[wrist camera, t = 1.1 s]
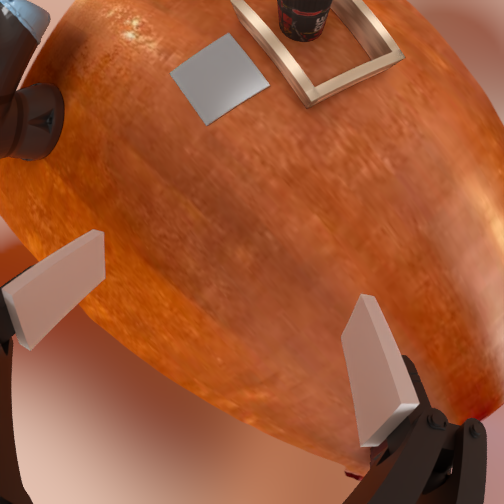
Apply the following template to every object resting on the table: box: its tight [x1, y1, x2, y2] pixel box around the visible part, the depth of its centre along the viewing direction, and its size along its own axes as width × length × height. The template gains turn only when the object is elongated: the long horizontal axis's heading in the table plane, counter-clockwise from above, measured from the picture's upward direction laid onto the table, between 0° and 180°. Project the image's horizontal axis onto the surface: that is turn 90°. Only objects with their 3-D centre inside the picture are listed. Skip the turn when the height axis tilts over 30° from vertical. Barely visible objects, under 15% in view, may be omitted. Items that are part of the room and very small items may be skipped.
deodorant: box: [277, 0, 333, 42], centre depth 20 cm, size 6×6×15 cm
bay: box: [231, 0, 405, 109], centre depth 25 cm, size 16×13×7 cm
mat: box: [169, 33, 270, 126], centre depth 32 cm, size 10×10×1 cm
